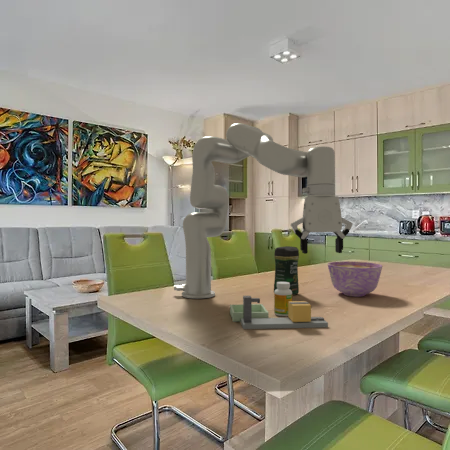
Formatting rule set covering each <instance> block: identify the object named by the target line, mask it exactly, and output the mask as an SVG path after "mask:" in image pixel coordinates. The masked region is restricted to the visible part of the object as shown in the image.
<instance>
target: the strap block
mask: <svg viewBox="0 0 450 450" xmlns="http://www.w3.org/2000/svg"><path fill="white" fill-rule="evenodd" d="M287 317H289V318H290V319H291V320H292V322H311V317H312V305H311V304H310V303H309V302H308V301H306V300H301V301H299V300H298V301H297V300H295V301H294V300H292V301H288V316H287Z"/></svg>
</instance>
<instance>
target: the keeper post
mask: <svg viewBox="0 0 450 450" xmlns="http://www.w3.org/2000/svg"><path fill="white" fill-rule="evenodd" d="M252 303H256V304H261V298H260V297H252V295H242V304H243V321H244V323H251V322H252Z"/></svg>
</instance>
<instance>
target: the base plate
mask: <svg viewBox="0 0 450 450" xmlns="http://www.w3.org/2000/svg"><path fill="white" fill-rule="evenodd" d="M240 324H241V327H242V330H256V329H257V330H261V329H263V330H264V329H265V330H266V329H267V330H269V329H270V330H271V329H301V328H303V329H305V328H306V329H308V328H310V329H312V328H313V329H314V328H329V322H328V321H326V320H325V318H324V317H322V316H311V322H292V320H291V319H290V318H289V317H288V316H285V317H268V318H252V322H251V323H244V321H243V318H241V322H240Z"/></svg>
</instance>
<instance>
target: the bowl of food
mask: <svg viewBox="0 0 450 450" xmlns="http://www.w3.org/2000/svg"><path fill="white" fill-rule="evenodd" d="M327 267H328V271H329V277H330V281H331V283H332V286H333V288H334V289H336V290H337V291H339V292H340V293H342V294H343V295H345V296H349V297H364V296H366V295H367V294H370V293H373V292H374V291H375V290H376V288H378V284H379V281H380V279H381V274H382V269H383V265H382V264H380V263H373V262H368V261H366V262H364V261H342V260H341V261H332V262H331V261H330V262H328V263H327Z"/></svg>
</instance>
